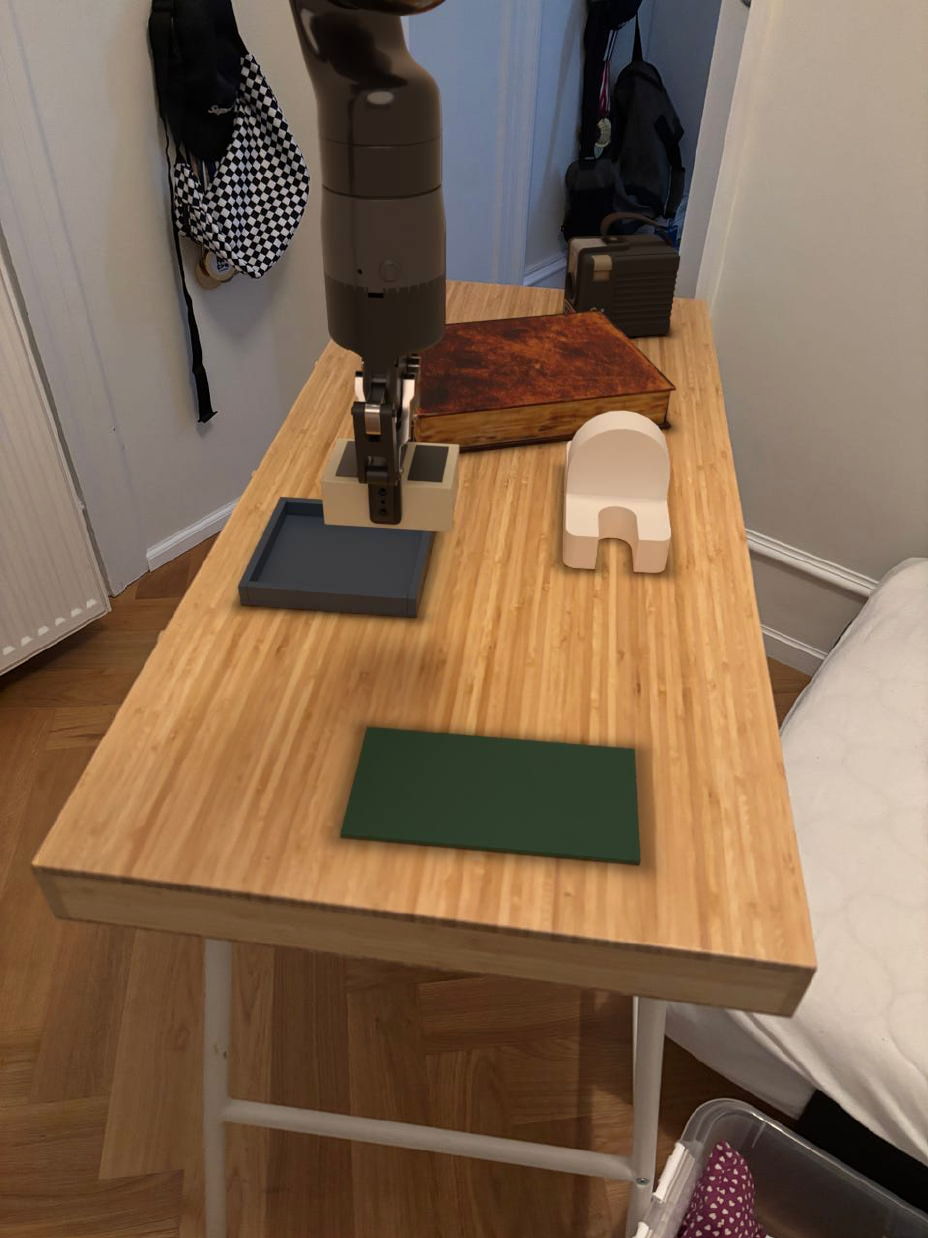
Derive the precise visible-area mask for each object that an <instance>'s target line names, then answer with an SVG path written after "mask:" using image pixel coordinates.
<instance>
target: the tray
mask: <svg viewBox="0 0 928 1238" xmlns="http://www.w3.org/2000/svg"><path fill="white" fill-rule="evenodd" d="M269 517H270V518H269V519H268V522H267V523H266V526H265V528H264V530H263V532H262V534H261V535H260V538H259V541H258V542H257V545H256V547H255V549H254V550H253V553H252V555H251V557H250V559H249V561H248V563H247V565H246V568H245V570H244V572H243V574H242V576H241V578H240V580H239V583H238V584H237V590H238V595H239V600H240V605H243V606H256V607H268V608H285V609H296V610H297V609H298V610H310V611H325V612H337V613H351V614H363V615H364V614H365V615H378V616H390V617H391V616H392V617H406V618H417V617H418V613H419V609H420V604H421V599H422V596H423V590H424V586H425V582H426V577H427V573H428V568H429V564H430V559H431V555H432V550H433V546H434V541H435V536H436V532H437V531H425V530H408V529H392V528H376V527H360V526H343V525H327V524H325V522H324V511H323V501H322V498H305V497H292V496H280V497H279V499H278V500H277V502H276V505H275V507H274V508H273V511H272V513H271V515H270V516H269Z"/></svg>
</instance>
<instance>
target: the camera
mask: <svg viewBox="0 0 928 1238" xmlns="http://www.w3.org/2000/svg"><path fill="white" fill-rule="evenodd" d="M620 220H636V221H642V222H644V223H647V224H649V225H652V226H654V227H655V228H657V229H658V230H659V231H660V233H661V234H662V236H663V238H664V239H663V238H662V237H661V236H660V235H658V234H657V233H656V234H655V233H651V234H648V233H647V234H633V235H631V234H630V235H608V230H609V227H610V226H611V225H612V224H613V223H615V222H617V221H620ZM599 230H600V236H599V235H598V236H597V235H596V236H594V235H593V236H592V235H591V236H573V237H571V238H569V239H568V241H567V251H566V264H565V277H564V291H563V304H562V313H574V312H585V311H596V310H601V311H602V312H603V313H604V314H605V315H606V316H607V317H608V318H609V319H610V320H611V321H612V322H613V323H614V324H615V325H616V326H617V327H618V328H619V329H620V330H621V331H622V332H623V333H624V334H625V335H626V336H627V337H628V338H630V337H642V336H643V337H644V336H656V335H659V336H660V335H668V334H669V333H670V328H671V322H672V320H671V316H672V310H673V304H674V298H675V291H676V285H677V278H678V271H679V270H680V264H681V255H680V253H679V252H678V251H676V250H675V249H674V245H673V242H672V239H671V238H670V236H669V235H668V233H667V232H666V231H665V229H663V228H662V227H661V226H660V225H658V224H657V223H656V222H655V221H653V220H652V219H650V218H648V217H646V216H644V215H641V214H638V213H633V212H624V211H620V212H613V213H611V214H608V215H606V216H605V217H604V218H603V220H601V224H600V229H599Z"/></svg>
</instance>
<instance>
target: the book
mask: <svg viewBox="0 0 928 1238" xmlns="http://www.w3.org/2000/svg"><path fill="white" fill-rule="evenodd" d="M419 357H421V360H422V371H421V379H420V386H421V400H420V405H419V407H418V408H417V409H416V414H418V420H417V421H416V425H411V426H414V442H421V443H439V444H457V445H459V454H462V453H463V454H464V453H471V452H480V451H488V450H497V449H506V448H514V447H521V446H532V445H539V444H540V445H541V444H548V443H557V442H565V441H572V439H573V438H574V436H575V434H576V433H577V431H578V430H579V429H580V428H581V427H582V426H583V425H584V424H585V423H586V422H587V421H589V420H591V419H593V418H594V417H596V416H598V415H601V414H604V413H607V412H612V411H628V412H634V413H638V414H640V415H642V416H644V417H647V418H649V419H650V420H651V421H652V422H653V423H655V424H656V425H657V426H658V427H659V429H660V430H666V429H671V424H670V423H669V422H668V420H667V416H668V410H669V403H670V398H671V392H674V391H677V387H676V385H674V384H673V382H672V381H670V379H669V378H668V377H666V375H665V374H664V373H663V372H662V371H661V370H660V369H659V368H658V367H657V366H656V365H655V364H654V363H653V362H652V361H651V360H650V359H649V358H648V357H647V356H646V355H645V353H644V352H643V351H642V350H640V348H639V347H637V345H636V344H634V342H632V340H631V339H630V337H627V336H626V335H625V334H624V333H623V332H622V331H621V330H620V329H619V328H618V327H617V326H616V325H615V324H614V323H613V322H612V321H611V320H610V319H609V318H608V317H607V316H606V315H605V314H604V313H603V312H602V311H601V310H596V311H585V312H574V313H563V312H562V313H553V314H541V315H531V316H519V317H508V318H507V317H505V318H497V319H485V320H473V321H462V322H450V323H446V330H445V334H444V336H443V338H442V339H441V340H440V341H439V342H438V343H437V344H436V345H434V346H433V347H431V348H429V349H427V350H424V351H422V352H419Z"/></svg>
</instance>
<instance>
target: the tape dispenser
mask: <svg viewBox="0 0 928 1238" xmlns="http://www.w3.org/2000/svg"><path fill="white" fill-rule="evenodd" d="M668 447H669V446H668V443H667V441H666V437H665V435H664V433H663V431H662V429H659V427H658V426H657V425H656V424H655V423H653V422H652V421H651V420H650V419H649V418H647V417H644V416H642V415H640V414H638V413H634V412H628V411H612V412H607V413H604V414H601V415H598V416H596V417H594V418H593V419H591V420H589V421H587V422H586V423H585V424H584V425H583V426H582V427H581V428H580V429H579V430H578V431H577V433H576V434H575V436H574V438H573V439H572V440H568V442H566V450H565V461H564V471H563V511H562V513H563V517H562V519H563V521H562V526H563V527H562V562H563V564H564V565H565V566H567V567H569V568H574V569H587V570H595V569H596V562H597V555H598V554H597V553H598V548H599V541H600V540H603V539H607V538H609V539H610V538H611V539H612V538H613V539H619V540H622V541H624V542H626V543H627V544H629V546H630V548H631V554H632V555H631V556H632V565H633V566H632V568H633V572H635V573H651V574H658V573H662V572H664V571H665V569H666V566H667V560H668V555H669V550H670V544H671V539H672V538H671V537H672V530H671V522H670V515H669V508H668V502H667V498H668V493H669V486H670V480H671V460H670V454H669V449H668Z"/></svg>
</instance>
